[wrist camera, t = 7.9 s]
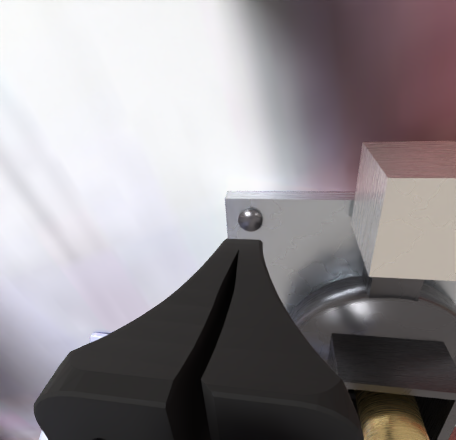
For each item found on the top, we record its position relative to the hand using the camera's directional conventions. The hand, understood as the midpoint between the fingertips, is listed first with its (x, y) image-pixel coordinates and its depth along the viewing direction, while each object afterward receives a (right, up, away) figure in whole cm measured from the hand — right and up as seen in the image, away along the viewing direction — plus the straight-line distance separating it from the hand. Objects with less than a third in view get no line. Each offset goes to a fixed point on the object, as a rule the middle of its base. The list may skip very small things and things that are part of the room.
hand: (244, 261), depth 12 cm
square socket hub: (+8, -3, +7) cm, 12 cm away
